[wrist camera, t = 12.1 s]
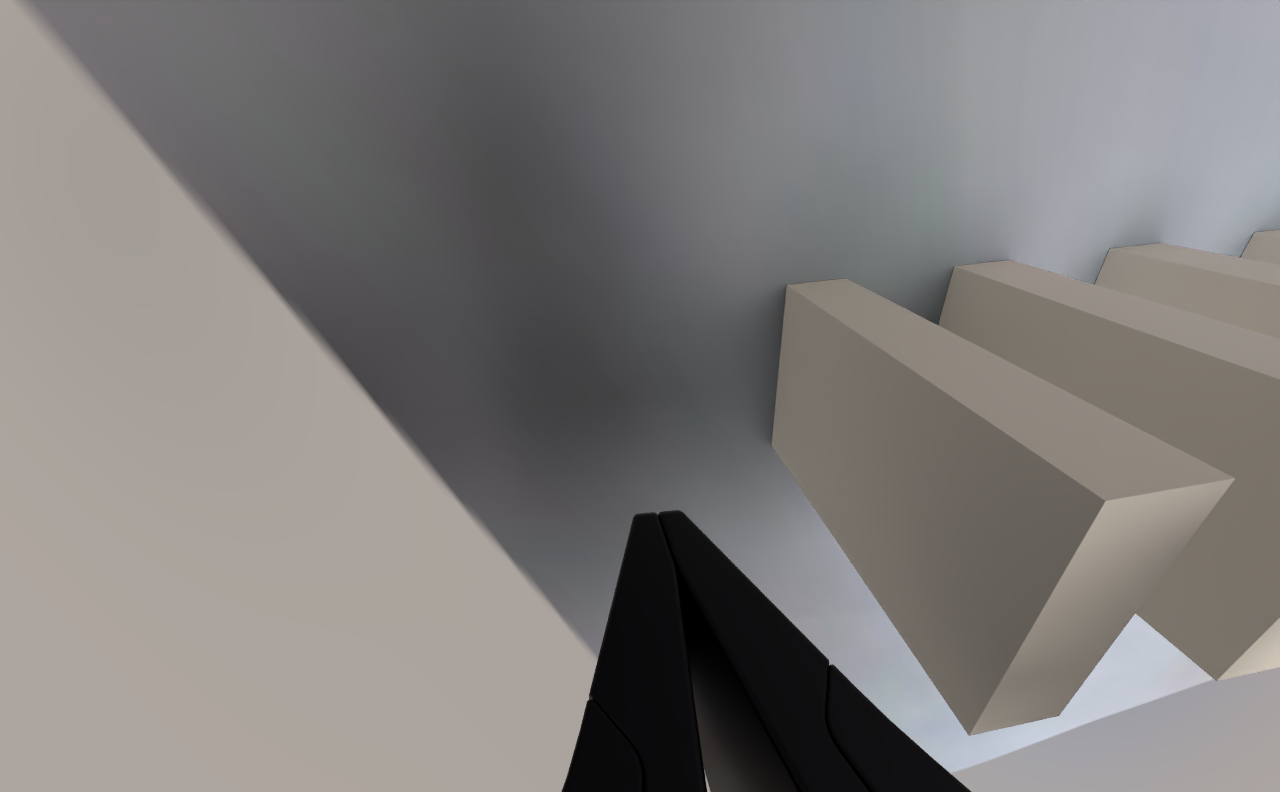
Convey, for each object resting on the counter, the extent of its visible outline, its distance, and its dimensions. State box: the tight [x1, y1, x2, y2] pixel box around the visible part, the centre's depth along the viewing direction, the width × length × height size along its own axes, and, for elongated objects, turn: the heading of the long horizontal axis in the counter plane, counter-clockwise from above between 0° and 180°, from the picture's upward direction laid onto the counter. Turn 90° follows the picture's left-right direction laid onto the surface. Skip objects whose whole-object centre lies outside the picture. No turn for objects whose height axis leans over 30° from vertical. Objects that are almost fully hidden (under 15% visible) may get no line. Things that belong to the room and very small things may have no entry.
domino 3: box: [938, 260, 1280, 681], centre depth 10 cm, size 5×2×8 cm, turn 4°
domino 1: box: [772, 278, 1235, 736], centre depth 10 cm, size 5×2×8 cm, turn 3°
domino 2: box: [1094, 243, 1280, 339], centre depth 11 cm, size 5×2×8 cm, turn 3°
